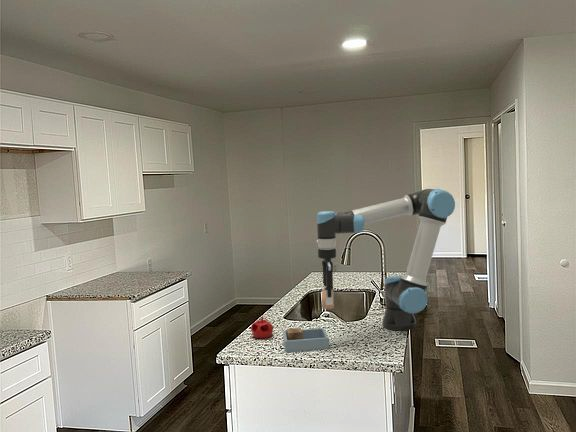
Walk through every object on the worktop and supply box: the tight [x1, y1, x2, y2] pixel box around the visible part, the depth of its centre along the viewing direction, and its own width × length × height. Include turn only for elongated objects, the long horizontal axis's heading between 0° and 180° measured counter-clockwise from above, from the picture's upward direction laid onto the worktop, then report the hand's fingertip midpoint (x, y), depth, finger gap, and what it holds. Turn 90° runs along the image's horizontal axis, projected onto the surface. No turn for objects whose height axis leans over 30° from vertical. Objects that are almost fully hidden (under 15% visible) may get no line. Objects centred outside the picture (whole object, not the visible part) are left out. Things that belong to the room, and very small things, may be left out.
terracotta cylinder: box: [321, 289, 335, 310], centre depth 217 cm, size 5×5×7 cm
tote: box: [282, 327, 330, 353], centre depth 218 cm, size 18×14×5 cm
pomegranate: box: [250, 316, 274, 339], centre depth 233 cm, size 10×10×9 cm
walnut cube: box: [286, 327, 303, 340], centre depth 218 cm, size 6×6×6 cm
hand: (328, 302), depth 217 cm, fingers closed on terracotta cylinder, 5 cm apart
